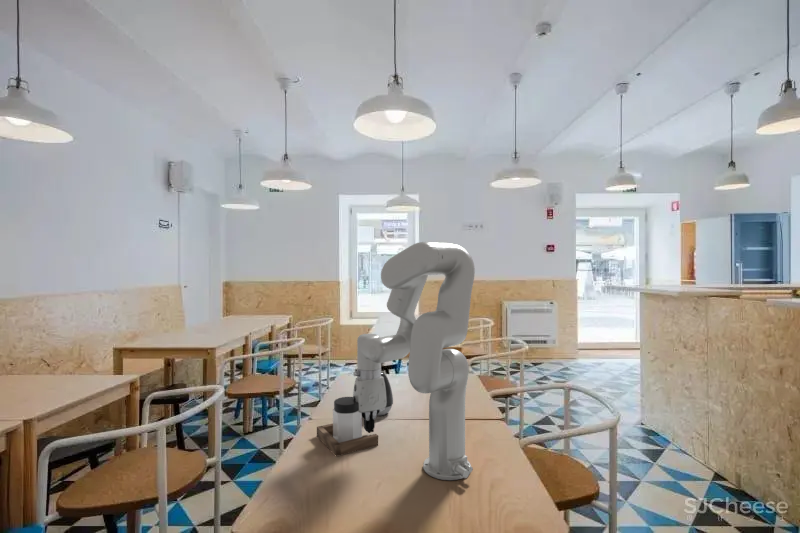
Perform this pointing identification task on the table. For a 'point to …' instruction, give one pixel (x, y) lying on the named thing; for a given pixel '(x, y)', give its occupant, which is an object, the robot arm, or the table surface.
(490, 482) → the table surface
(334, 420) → the jar
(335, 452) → the walnut bay
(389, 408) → the pump dispenser
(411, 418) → the table surface
